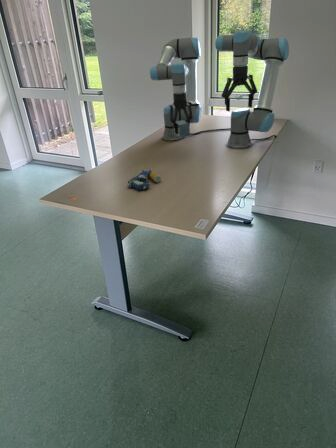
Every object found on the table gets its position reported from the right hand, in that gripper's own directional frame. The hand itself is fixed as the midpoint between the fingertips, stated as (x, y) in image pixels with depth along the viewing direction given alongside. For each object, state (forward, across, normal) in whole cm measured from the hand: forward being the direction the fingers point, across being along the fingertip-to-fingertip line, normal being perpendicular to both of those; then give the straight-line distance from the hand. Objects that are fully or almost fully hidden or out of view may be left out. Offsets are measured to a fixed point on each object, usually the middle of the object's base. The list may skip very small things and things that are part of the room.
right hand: (239, 109), depth 180 cm
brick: (+17, -23, +27) cm, 40 cm away
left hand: (+15, -23, +27) cm, 39 cm away
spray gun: (+31, -56, +1) cm, 64 cm away
